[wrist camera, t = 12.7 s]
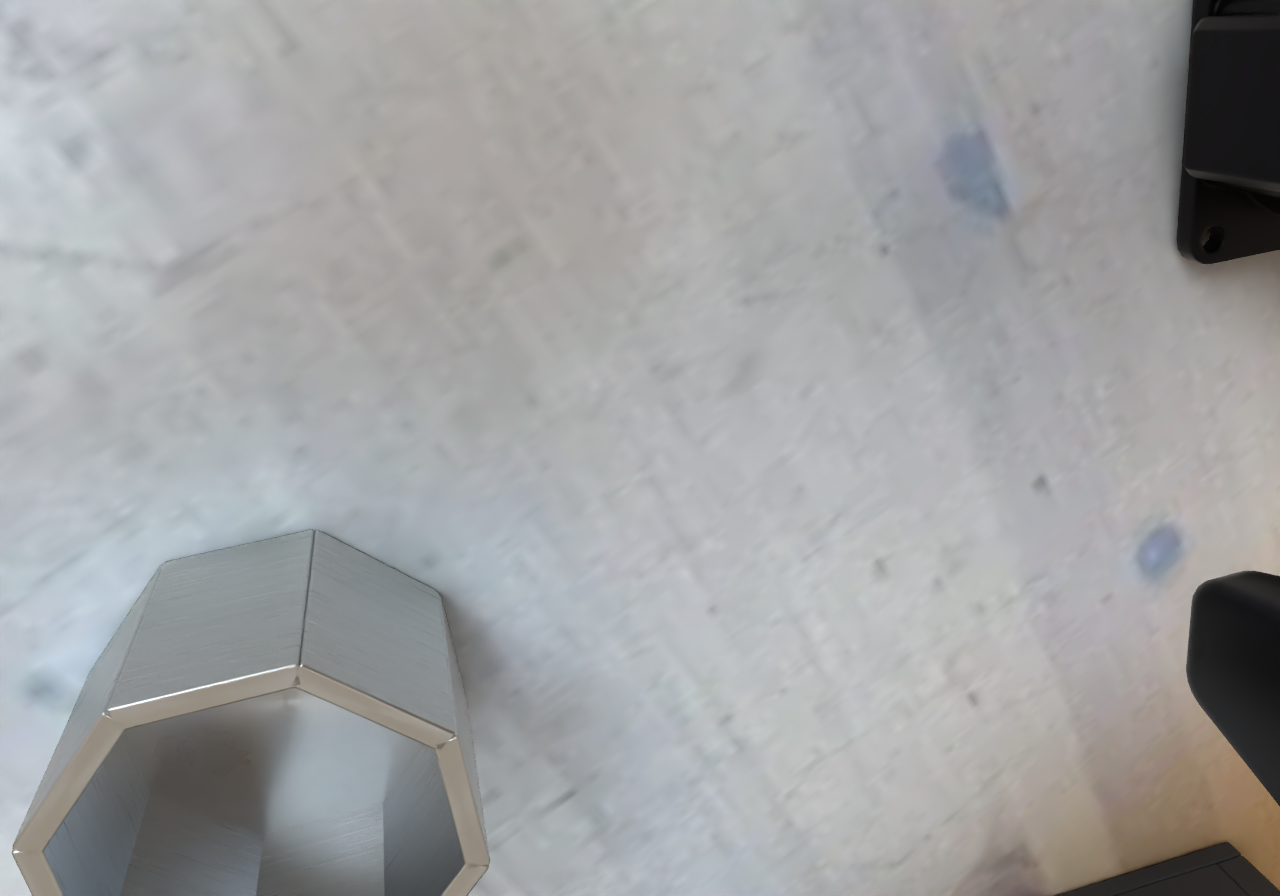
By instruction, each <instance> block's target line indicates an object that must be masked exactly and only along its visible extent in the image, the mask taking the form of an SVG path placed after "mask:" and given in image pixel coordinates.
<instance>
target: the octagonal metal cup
mask: <svg viewBox="0 0 1280 896" xmlns="http://www.w3.org/2000/svg"><path fill="white" fill-rule="evenodd" d="M12 855H13V857H14V859H15V861H16V863H17V865H18V867H19V869H20V871H21V873H22V875H23V877H24V879H25V881H26V884H27V886H28V888H29V890H30V892H31V894H32V896H467V895H468V894H469V892H470V891H471V890H472V889H473V887H474V886H475V885H476V883H477V882H478V881H479V879H480V878H481V877H482V876H483V874H484V873H485V872H486V870H487V869H488V867H489V863H490V856H489V850H488V843H487V836H486V829H485V822H484V815H483V808H482V801H481V794H480V787H479V780H478V773H477V766H476V760H475V753H474V746H473V739H472V732H471V725H470V718H469V711H468V704H467V700H466V696H465V691H464V687H463V683H462V679H461V675H460V671H459V667H458V663H457V659H456V655H455V651H454V647H453V642H452V638H451V634H450V630H449V626H448V622H447V618H446V614H445V610H444V606H443V602H442V597H441V595H439V594H438V592H437V591H436V590H434V589H432V588H430V587H428V586H426V585H424V584H422V583H420V582H418V581H416V580H414V579H412V578H410V577H408V576H406V575H405V574H403V573H401V572H399V571H397V570H395V569H393V568H391V567H389V566H387V565H385V564H383V563H381V562H379V561H377V560H375V559H373V558H371V557H370V556H368V555H366V554H364V553H362V552H360V551H358V550H356V549H354V548H352V547H350V546H348V545H346V544H344V543H342V542H340V541H338V540H336V539H335V538H333V537H331V536H329V535H327V534H325V533H323V532H321V531H319V530H316V531H315V532H314V530H313V529H310V530H306V531H301V532H297V533H292V534H288V535H283V536H279V537H274V538H270V539H265V540H261V541H256V542H252V543H247V544H243V545H238V546H234V547H229V548H225V549H220V550H216V551H211V552H207V553H202V554H198V555H193V556H189V557H184V558H180V559H176V560H171V561H167V562H165V563H164V565H163V564H162V565H161V566H160V567H159V568H158V570H157V571H156V573H155V574H154V576H153V577H152V579H151V580H150V582H149V583H148V585H147V586H146V588H145V589H144V591H143V592H142V594H141V595H140V597H139V598H138V600H137V601H136V603H135V604H134V606H133V608H132V609H131V611H130V612H129V614H128V615H127V617H126V618H125V620H124V621H123V623H122V624H121V626H120V627H119V629H118V630H117V632H116V633H115V635H114V636H113V638H112V639H111V641H110V642H109V644H108V645H107V647H106V648H105V650H104V651H103V653H102V654H101V656H100V658H99V659H98V661H97V662H96V664H95V665H94V667H93V668H92V670H91V671H90V673H89V674H88V677H87V679H86V681H85V683H84V686H83V688H82V690H81V693H80V695H79V697H78V699H77V702H76V704H75V706H74V708H73V711H72V713H71V715H70V717H69V720H68V722H67V724H66V726H65V729H64V731H63V733H62V735H61V738H60V740H59V742H58V744H57V747H56V749H55V751H54V753H53V756H52V758H51V760H50V762H49V765H48V767H47V769H46V771H45V774H44V776H43V778H42V780H41V783H40V785H39V787H38V790H37V792H36V794H35V796H34V799H33V801H32V803H31V805H30V808H29V810H28V812H27V814H26V817H25V819H24V821H23V823H22V826H21V828H20V830H19V832H18V835H17V837H16V839H15V841H14V844H13V851H12Z"/></svg>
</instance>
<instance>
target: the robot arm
mask: <svg viewBox="0 0 1280 896" xmlns="http://www.w3.org/2000/svg"><path fill="white" fill-rule="evenodd" d="M1209 228H1210V236H1209V239H1208V241H1207V242H1206V243H1205V244H1204V245H1203V244H1202V240H1203V236H1204V234H1205V233H1206V231H1207V230H1208V229H1209ZM1177 246H1178V250H1179V252H1180V253H1181V255H1182V256H1183V257H1185V258H1186V259H1188V260H1191V261H1195V262H1198V263H1202V264H1213V263H1218V262H1223V261H1228V260H1232V259H1237V258H1242V257H1246V256H1251V255H1256V254H1261V253H1265V252H1270V251H1275V250H1279V249H1280V0H1193V13H1192V28H1191V42H1190V57H1189V71H1188V86H1187V100H1186V115H1185V129H1184V144H1183V158H1182V173H1181V187H1180V201H1179V216H1178V230H1177ZM1186 673H1187V679H1188V683H1189V685H1190V688H1191V691H1192V693H1193V695H1194V697H1195V699H1196V700H1197V702H1198V703H1199V705H1200V706H1201V707H1202V709H1203V710H1204V711H1205V712H1206V714H1207V715H1208V716H1209V717H1210V719H1211V720H1212V721H1213V722H1214V724H1215V725H1216V726H1217V728H1218V729H1219V730H1220V731H1221V733H1222V734H1223V735H1224V736H1225V738H1226V739H1227V740H1228V741H1229V743H1230V744H1231V745H1232V746H1233V748H1234V749H1235V750H1236V752H1237V753H1238V754H1239V755H1240V757H1241V758H1242V759H1243V760H1244V762H1245V763H1246V764H1247V765H1248V767H1249V768H1250V769H1251V770H1252V772H1253V773H1254V774H1255V776H1256V777H1257V778H1258V779H1259V781H1260V782H1261V783H1262V784H1263V786H1264V787H1265V788H1266V789H1267V791H1268V792H1269V793H1270V794H1271V796H1272V797H1273V798H1274V800H1275V801H1276V802H1277V803H1278V805H1279V806H1280V576H1276V575H1271V574H1267V573H1263V572H1257V571H1242V572H1238V573H1234V574H1230V575H1227V576H1223V577H1219V578H1216V579H1212V580H1208V581H1206V582H1204V583H1203V584H1201V585H1200V586H1199V587H1198V588H1197V590H1196V592H1195V593H1194V595H1193V599H1192V606H1191V617H1190V629H1189V641H1188V652H1187V664H1186Z"/></svg>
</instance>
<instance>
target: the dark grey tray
mask: <svg viewBox="0 0 1280 896" xmlns="http://www.w3.org/2000/svg"><path fill="white" fill-rule="evenodd" d="M1059 896H1280V891H1279V890H1278V889H1277V888H1276V887H1275V886H1274V885H1273V884H1272V883H1271V882H1270V881H1269V880H1268V879H1267V878H1266V877H1265V876H1264V875H1262V874H1261V873H1260V872H1259V871H1258V870H1257V869H1256V868H1255V867H1254V866H1253V865H1252V864H1251V863H1250V862H1249V861H1248V860H1247V859H1245V858H1244V857H1243V856H1241V854H1240V852H1238V851H1237V850H1236V849H1235V848H1234V847H1233V846H1232V845H1231V844H1230V843H1228V842H1226V843H1223V844H1220V845H1216V846H1213V847H1210V848H1207V849H1204V850H1201V851H1198V852H1194V853H1191V854H1188V855H1185V856H1182V857H1179V858H1175V859H1172V860H1169V861H1166V862H1163V863H1160V864H1157V865H1153V866H1150V867H1147V868H1144V869H1141V870H1138V871H1135V872H1131V873H1128V874H1125V875H1122V876H1119V877H1116V878H1112V879H1109V880H1106V881H1103V882H1100V883H1097V884H1094V885H1090V886H1087V887H1084V888H1081V889H1078V890H1075V891H1072V892H1068V893H1065V894H1062V895H1059Z"/></svg>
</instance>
